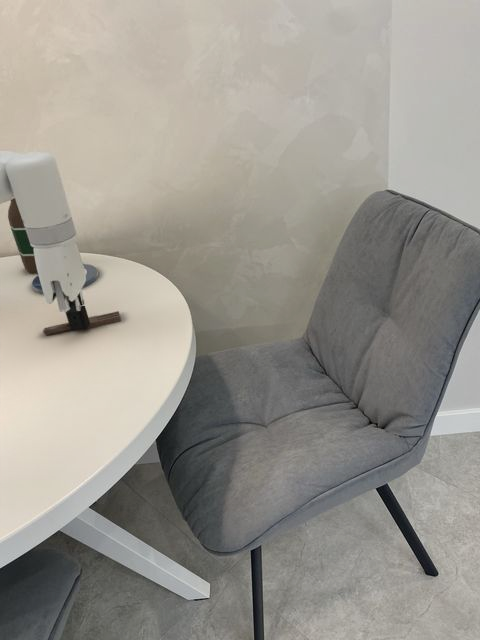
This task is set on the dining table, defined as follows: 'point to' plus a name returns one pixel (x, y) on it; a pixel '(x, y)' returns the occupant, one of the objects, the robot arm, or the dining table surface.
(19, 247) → the beer bottle
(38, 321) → the dining table surface
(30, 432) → the dining table surface
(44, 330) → the brown wooden dowel
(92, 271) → the plate
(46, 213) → the robot arm
